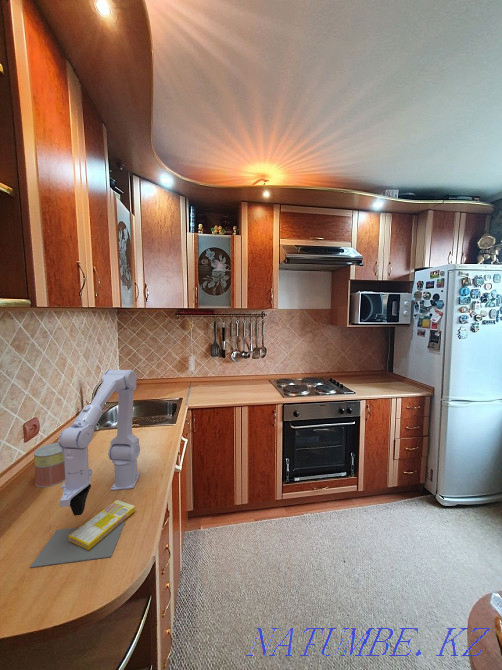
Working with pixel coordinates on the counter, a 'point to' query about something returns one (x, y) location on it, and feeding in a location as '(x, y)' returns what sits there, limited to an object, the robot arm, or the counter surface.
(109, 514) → the candy box
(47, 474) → the canned food
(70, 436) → the robot arm
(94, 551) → the mat
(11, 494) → the counter surface
